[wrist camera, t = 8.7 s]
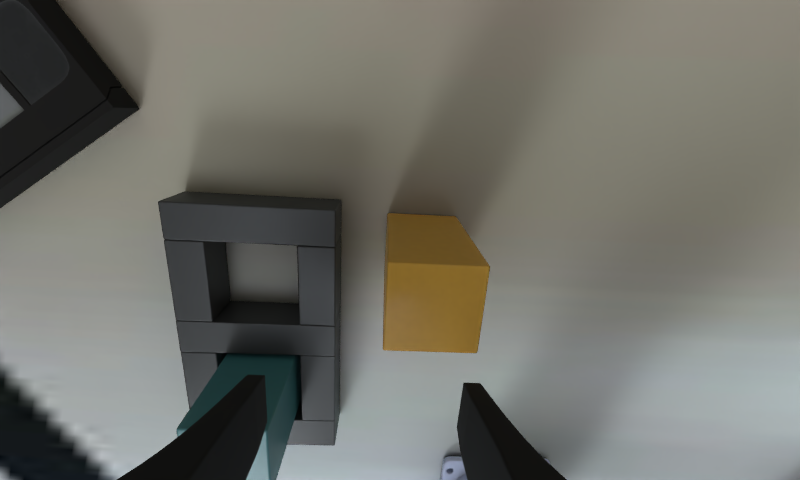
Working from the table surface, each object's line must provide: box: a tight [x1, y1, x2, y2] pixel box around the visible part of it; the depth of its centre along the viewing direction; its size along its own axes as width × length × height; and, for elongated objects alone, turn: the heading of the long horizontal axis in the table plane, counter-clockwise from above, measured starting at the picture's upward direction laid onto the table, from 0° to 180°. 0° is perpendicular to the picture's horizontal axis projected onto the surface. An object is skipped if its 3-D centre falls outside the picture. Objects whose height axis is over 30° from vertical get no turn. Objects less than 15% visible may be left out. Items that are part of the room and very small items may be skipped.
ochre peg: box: [383, 213, 490, 353], centre depth 18 cm, size 4×4×8 cm
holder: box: [158, 192, 342, 445], centre depth 22 cm, size 15×9×2 cm, turn 177°
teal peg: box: [177, 353, 301, 480], centre depth 21 cm, size 4×4×8 cm
